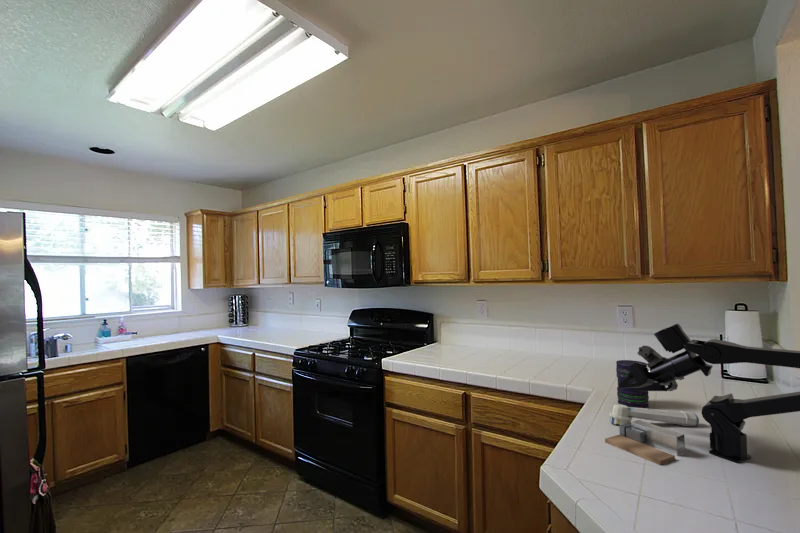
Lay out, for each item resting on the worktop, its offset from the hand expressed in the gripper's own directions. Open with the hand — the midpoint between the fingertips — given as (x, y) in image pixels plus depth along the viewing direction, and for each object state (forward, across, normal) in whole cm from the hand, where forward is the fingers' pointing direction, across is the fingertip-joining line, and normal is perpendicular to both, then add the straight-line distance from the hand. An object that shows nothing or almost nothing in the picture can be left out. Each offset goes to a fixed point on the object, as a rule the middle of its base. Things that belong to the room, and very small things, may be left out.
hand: (627, 387), depth 117 cm
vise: (+3, +1, +14) cm, 14 cm away
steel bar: (0, +1, +17) cm, 17 cm away
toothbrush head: (+4, -14, +9) cm, 17 cm away
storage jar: (+13, -28, -2) cm, 31 cm away
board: (+2, +8, +18) cm, 19 cm away
